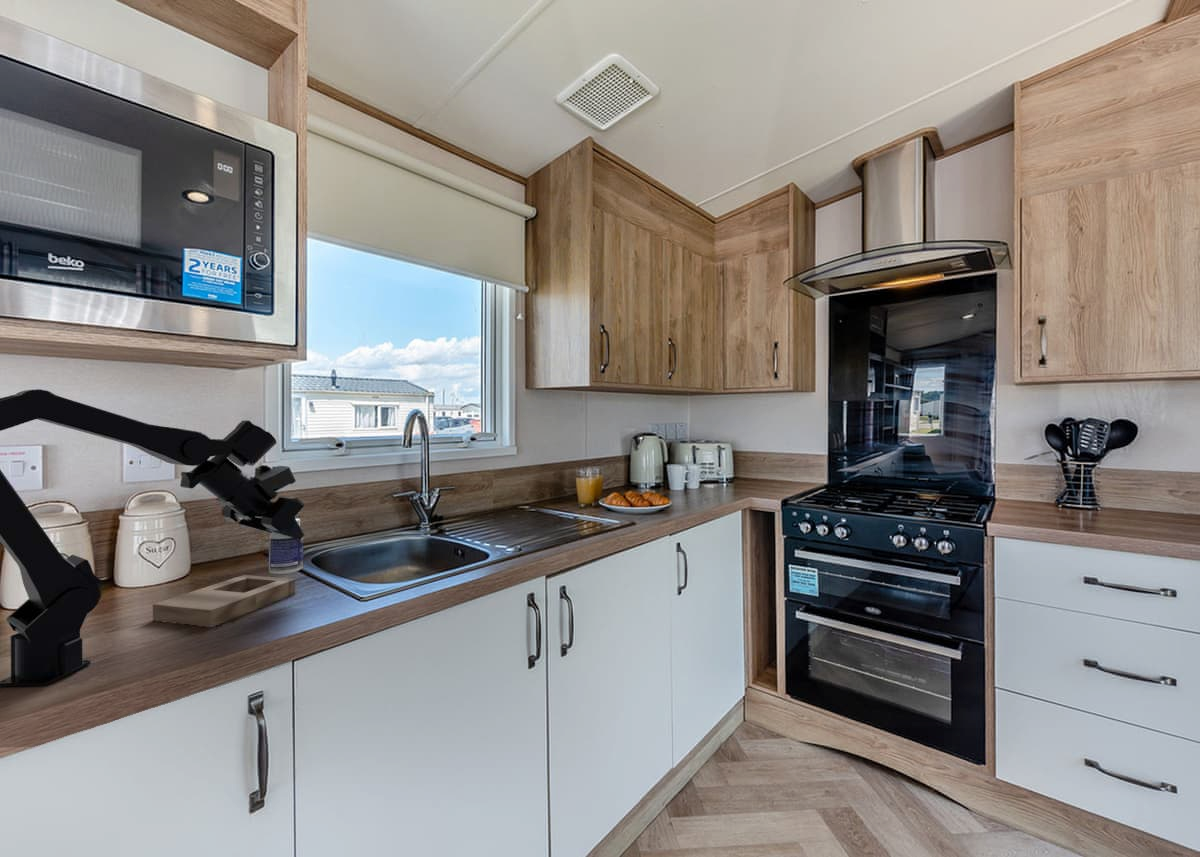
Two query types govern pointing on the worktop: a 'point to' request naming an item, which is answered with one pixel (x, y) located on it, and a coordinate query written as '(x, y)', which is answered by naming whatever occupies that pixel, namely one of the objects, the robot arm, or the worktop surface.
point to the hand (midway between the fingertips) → (293, 535)
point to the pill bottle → (285, 553)
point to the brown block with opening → (223, 600)
